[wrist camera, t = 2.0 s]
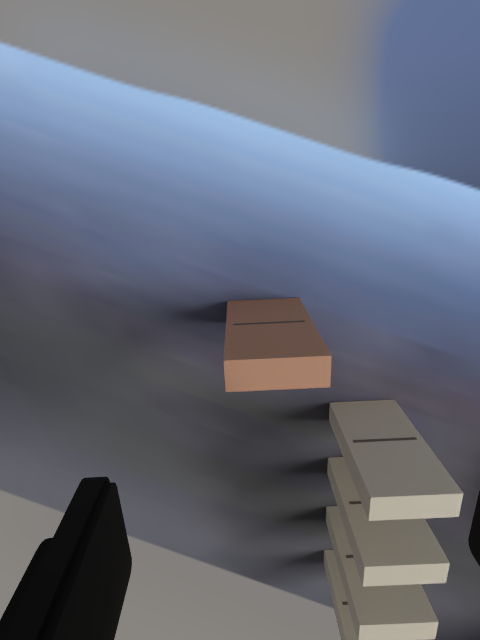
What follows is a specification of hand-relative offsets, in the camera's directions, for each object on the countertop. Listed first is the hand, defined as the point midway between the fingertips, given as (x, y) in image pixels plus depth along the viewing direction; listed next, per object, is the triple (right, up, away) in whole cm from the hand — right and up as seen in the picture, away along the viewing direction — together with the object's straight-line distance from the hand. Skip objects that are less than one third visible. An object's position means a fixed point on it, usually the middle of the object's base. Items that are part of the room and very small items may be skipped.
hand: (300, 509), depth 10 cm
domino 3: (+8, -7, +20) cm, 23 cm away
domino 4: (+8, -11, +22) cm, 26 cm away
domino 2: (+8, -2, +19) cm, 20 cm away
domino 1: (0, +5, +16) cm, 17 cm away
